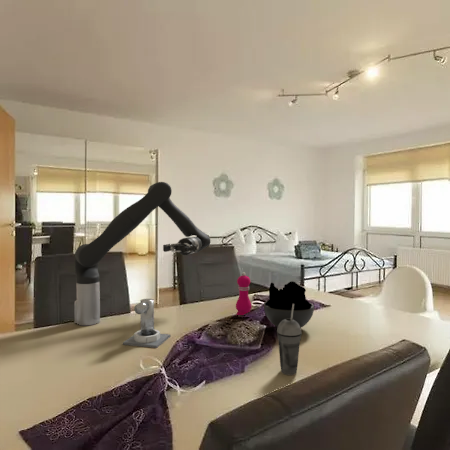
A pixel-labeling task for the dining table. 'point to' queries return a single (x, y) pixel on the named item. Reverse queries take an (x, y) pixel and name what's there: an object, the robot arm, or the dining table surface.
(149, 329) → the duct elbow
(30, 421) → the dining table surface
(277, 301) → the bowl of black rocks
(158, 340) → the plate
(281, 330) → the beverage cup
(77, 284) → the robot arm
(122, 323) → the dining table surface
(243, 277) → the pepper mill
